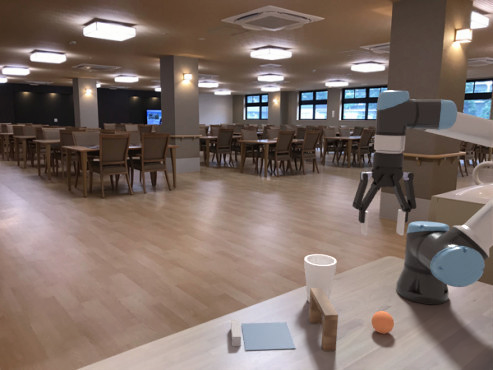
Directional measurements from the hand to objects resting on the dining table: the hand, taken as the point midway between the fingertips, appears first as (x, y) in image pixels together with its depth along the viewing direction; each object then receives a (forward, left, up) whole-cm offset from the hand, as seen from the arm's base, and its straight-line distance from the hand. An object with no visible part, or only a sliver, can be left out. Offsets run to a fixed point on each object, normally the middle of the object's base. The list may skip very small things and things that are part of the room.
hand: (381, 234), depth 109 cm
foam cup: (+14, -9, -24) cm, 29 cm away
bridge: (+18, +9, -24) cm, 31 cm away
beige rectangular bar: (+40, +9, -24) cm, 47 cm away
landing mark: (+32, +9, -24) cm, 41 cm away
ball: (+2, +9, -21) cm, 23 cm away
